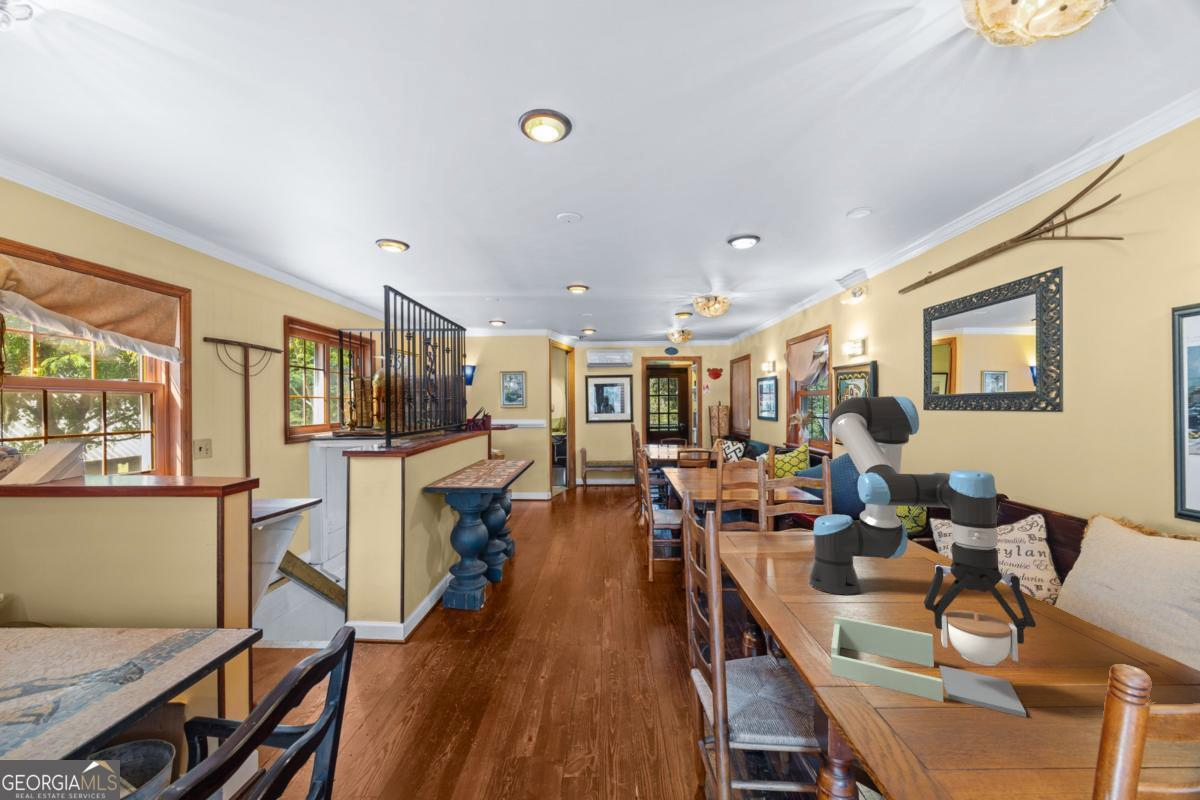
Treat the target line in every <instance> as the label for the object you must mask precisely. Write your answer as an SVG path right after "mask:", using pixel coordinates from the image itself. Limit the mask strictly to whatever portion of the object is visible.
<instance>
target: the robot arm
mask: <svg viewBox="0 0 1200 800" xmlns="http://www.w3.org/2000/svg"><path fill="white" fill-rule="evenodd" d="M828 421H829V428H830V431H831V432H832V435H833V436H834V437H835V438H836V440H837V439H838V440H839V441H841V443H842V445H843V447H844V449H845V450H846V452H847V453H848V456H849V458H850V459H851V462H852V463H853V464H854V467H855V468H856V470H857V472H858V473H859V477H858V478H857V492H858V497H859V499H860V501H861V502H862V503H864V504H865V509H864V510H863V511H861V512H860V513H859V520H857V519H856V520H854V519H853V518H852V516H850V515H848V514H847V515H846V514H838V513H836V514H826V515H822V516H818V517H817V518H816V519H815V520H814V522H813V546H814V551H813V553H814V554H813V555H814V562H813V564H812V568H811V571H810V573H809V576H808V577H809V584H810V583H811V584H812V585H813V586H814V587H816V588H818V589H820V590H823V591H826V592H825V593H827V592H829V594H832V593H835V594H834V595H839V594H844V596H845V595H846V596H848V595H849V594H851V595H856V594H859V592H861V582H860V580H859V576H858V574H857V572H856V569H855V567H854V557H859V558H876V559H879V558H880V559H883V560H884V559H885V560H887V559H899V558H901V557H903V556H904V555H905V553H906V552H907V551H906V550H907V548H908V543H909V538H908V531H907V528H906V526H905V525H904V523H902V520H901V518H899V517H898V515H897V510H898V509H897V507H926V508H927V507H928V508H946V509H949V510H950V517H951V518H950V522H951V523H950V524H951V541H953V543H951V553H952V554H951V555H952V562H951V565H950V566H947V565H946V566H945V565H941V564H940V563H935V564H934V576H933V578H932V581H931V583H930V586H929V588H928V591H927V593H926V595H925V598H924V600H923V604H924V609H926V610H928V611H931V612H933V614H934V615H933V617H934V625H935V628H936V630H937V629H938V630H940V637H941V638H940V641H941V644H942V647H943V648H948V632H947V617H946V612H945V611H946V609H947V608H948V607H949V606H950V605H951V604H952V603H953V601H954V600H955V599H956V598H957V597H958V595H959V594H960V593H961V592H963V591H964V590H965V589H967V590H968V591H979V592H983V593H987V592H990V594H991V595H992V596H993V597H994V599H995V600H996V601H997V602H998V604H999V605H1000V606H1001V608H1002V609H1003V611H1004V612H1006V614H1007V616H1008V617H1009V618H1010V620H1011V621H1012V622H1009V621H1008V622H1007V624H1008V625H1009V626H1010V627H1011V630H1012V633H1011V647H1010V651H1009V654H1008V655H1009V656H1010V658H1011V659H1012V661H1014V662H1019V652H1018V650H1019V648H1018V644H1020V645H1023V644H1024V643H1025V636H1024V635H1025V633H1024V630H1025V629H1026V628H1028V627H1030V628H1036V625H1037V624H1036V621H1035V620H1034V616H1033V614H1032V612H1031V610H1030V608H1029V606H1028V604H1027V602H1026V599H1025V597H1024V595H1023V593H1022V590H1021V582H1020V581H1021V579H1020V577H1018V575H1016V574H1015V573H1014V572H1010V573H1002V572H1001V571H1000V569H999V551H998V549H997V548H996V547H997V546H998V527H997V523H998V522H997V521H998V520H997V518H998V517H997V492H998V491H997V488H996V482H995V476H994V475H993V474H992V473H991V472H987V471H982V470H972V469H971V470H969V469H957V470H952V471H951V472H950V473H948V472H947V473H946V472H931V473H926V474H925V473H916V474H915V473H901V467H902V466H901V465H902V453H903V446H905V445H907V444H908V443H909V441H910V436H913V435H915V434H917V433H918V431H919V428H920V417H919V412H918V410H917V407H916V405H915V403H914V402H913V401H912V400H911V398H908V397H906V396H894V395H891V396H886V395H885V396H862V397H861V396H857V397H856V396H853V397H850V398H847V399H845V400H843V401H841V402H840V403H838V404H837V405H836V406H835V407H834V409H833V410H832V412H831V414H830V416H829V420H828ZM949 573H951V574H952V575H953V577H954V578H955V579H954V580H953V581H952V584H951V585H950V586H949V588H947V590H946V591H945V593H944V594H943V595H942V596H941V597H940V598H939V599H938V600H937V602H936V599H937V597H938V594H939V592H940V589H941V586H942V583H943V582H944V578H946V577H947V576H948V574H949ZM1001 580H1003V581H1004V582H1005V584H1006V585H1007V586H1009V588H1010V590H1011V592H1012V595H1013V597H1014V599H1015V600H1014V601H1015V602H1016V604H1017V607H1018V609H1019V611H1020V613H1021V616H1022V617H1019V616H1018V615H1017V614H1016V613H1015V612H1014V610H1013V609H1012V607H1011V606H1010V605H1009V603H1008V602H1007V601H1006V600H1005V598H1004V597H1003V596H1002V594H1001V593H1000V592H999V590H998V588H996V586H997V584H999V582H1001ZM814 587H813V588H814ZM816 588H815V589H816ZM818 589H817V590H818ZM820 590H819V591H820ZM823 591H822V592H823ZM855 593H856V594H855ZM849 596H850V595H849ZM935 602H936V603H935Z"/></svg>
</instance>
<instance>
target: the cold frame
mask: <svg viewBox="0 0 1200 800" xmlns="http://www.w3.org/2000/svg"><path fill="white" fill-rule="evenodd" d="M833 618H834V619H833V621H834V622H833V623H834V625H833V632H832V639H831V647H830V650H831V651H830V652H831V655H830V662H831V663H830V667H831V668H830V670H831V671H830V672H831V673H830V674H831V676H835V677H841V678H843V679H849V680H852V681H857V682H860V683H865V684H869V685H873V686H877V687H880V688H884V689H888V690H892V691H897V692H900V693H901V692H902V693H904V694H908V695H914V696H916V697H920V698H926V699H929V700H933V701H937V702H941V703H944V683H943V680H942V678H939V677H934V676H930V675H926V674H921V673H918V672H913V671H907V670H904V669H900V668H895V667H891V666H886V665H882V664H877V663H873V662H868V661H864V660H859V659H855V658H851V657H846V656H842V655H840V654H841V648H844V649H848V650H853V651H857V652H862V653H866V654H871V655H875V656H879V657H885V658H890V659H894V660H898V661H902V662H903V661H904V662H907V663H910V664H911V663H913V664H917V665H921V666H926V667H929V668H930V667H931V668H934V667H935V662H934V636H933V633H927V632H923V631H916V630H911V629H908V628H902V627H896V626H891V625H885V624H881V623H880V624H879V623H875V622H869V621H866V620H865V621H864V620H859V619H852V618H850V617H849V618H848V617H843V616H838V615H834V616H833Z"/></svg>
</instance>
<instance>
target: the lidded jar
mask: <svg viewBox="0 0 1200 800" xmlns="http://www.w3.org/2000/svg"><path fill="white" fill-rule="evenodd" d="M945 614H946V617H947V637H948V640H949V641H950V643H951V645H952V647H954V648H953V649H955V650H956V651H957V652H958V653H959V655H960V656H961V657H962V658H963V659H965V660H966V661H968V662H971V663H973V664H977V665H979V666H984V667H985V666H986V667H994V666H997V665H998V664H999V663H1000V662H1002V661H1004V660H1005V659H1006V658H1007V657H1008V655H1010V654H1009V651H1010V647H1011V633H1012V630H1011V627H1010V626H1009V625H1008V622H1006V621H1004V620H1002V619H1000V618H998V617H995V616H992V615H989V614H986V613H982V612H979V611H972V610H963V609H961V610H959V609H957V610H956V609H954V610H949V611H947V612H945Z"/></svg>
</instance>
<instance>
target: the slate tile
mask: <svg viewBox="0 0 1200 800" xmlns="http://www.w3.org/2000/svg"><path fill="white" fill-rule="evenodd" d="M938 667H939V671H940V675H941V679H942V681H943V688H944V689H945V693H946V696H947V697H946V698H947V699H948V700H952V701H957V702H960V703H965V704H968V705H973V706H976V707H981V708H985V709H988V710H993V711H997V712H1001V713H1005V714H1010V715H1014V716H1018V717H1023V718H1027V712H1026V710H1025V708H1024V706H1023V704H1022V702H1021V701H1020V698H1019V697H1018V695H1017V693H1016V691H1015V690H1014V687H1013V686H1012V684H1011V682H1010V680H1009V679H1006V678H999V677H995V676H991V675H986V674H981V673H978V672H971V671H968V670H963V669H958V668H955V667H954V668H953V667H949V666H946V665H945V666H944V665H939V666H938Z"/></svg>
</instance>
